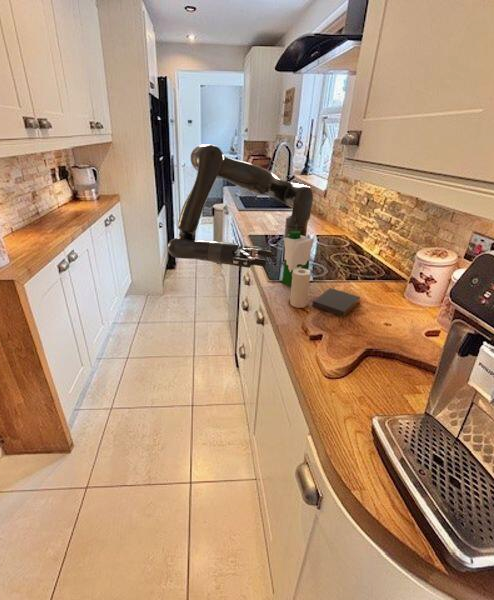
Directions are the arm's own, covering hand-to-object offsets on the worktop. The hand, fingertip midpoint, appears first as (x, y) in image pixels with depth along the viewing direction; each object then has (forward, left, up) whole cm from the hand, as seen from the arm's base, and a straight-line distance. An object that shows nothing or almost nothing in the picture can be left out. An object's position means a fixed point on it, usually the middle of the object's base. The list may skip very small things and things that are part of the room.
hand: (268, 258), depth 108 cm
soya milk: (-18, +1, -16) cm, 24 cm away
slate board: (-12, +20, -15) cm, 28 cm away
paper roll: (-4, +10, -15) cm, 19 cm away
